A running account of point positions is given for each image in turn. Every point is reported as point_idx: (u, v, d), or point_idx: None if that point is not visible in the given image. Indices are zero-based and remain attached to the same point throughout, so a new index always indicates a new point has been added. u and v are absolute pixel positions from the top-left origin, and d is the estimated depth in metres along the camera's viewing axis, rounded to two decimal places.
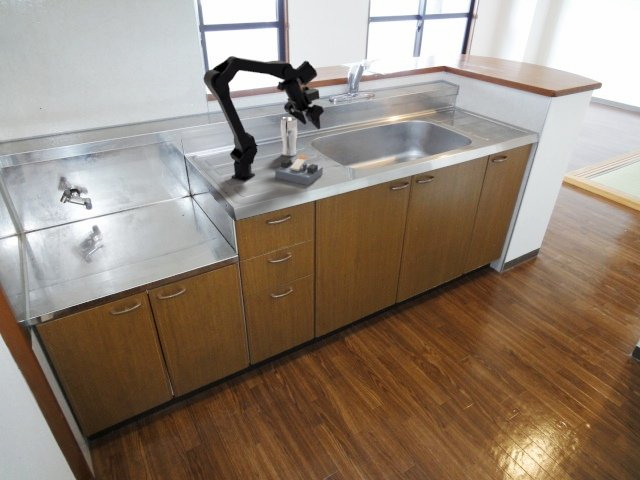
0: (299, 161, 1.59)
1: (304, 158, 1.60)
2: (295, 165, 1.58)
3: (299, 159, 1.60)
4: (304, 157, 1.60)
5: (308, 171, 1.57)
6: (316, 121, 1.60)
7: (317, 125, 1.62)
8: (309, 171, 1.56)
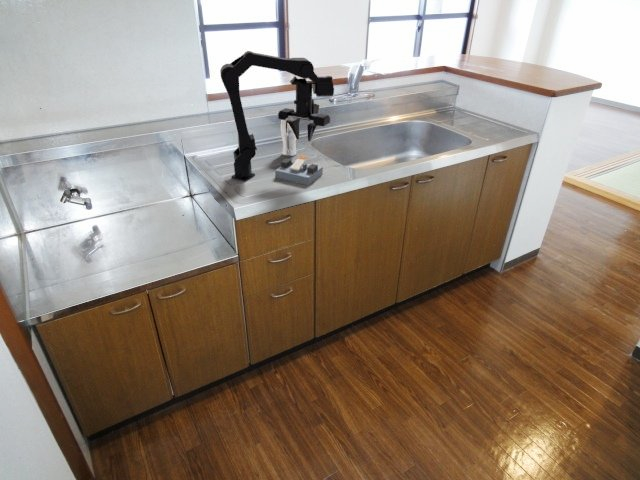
0: (299, 161, 1.59)
1: (304, 158, 1.60)
2: (295, 165, 1.58)
3: (299, 159, 1.60)
4: (304, 157, 1.60)
5: (308, 171, 1.57)
6: (312, 130, 1.54)
7: (311, 135, 1.55)
8: (309, 171, 1.56)
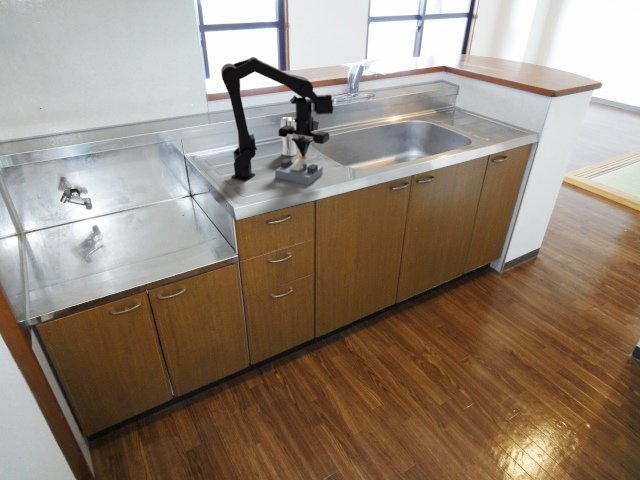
0: (299, 161, 1.59)
1: (304, 158, 1.60)
2: (295, 165, 1.58)
3: (299, 159, 1.60)
4: (304, 157, 1.60)
5: (308, 171, 1.57)
6: (306, 146, 1.58)
7: (305, 151, 1.59)
8: (309, 171, 1.56)
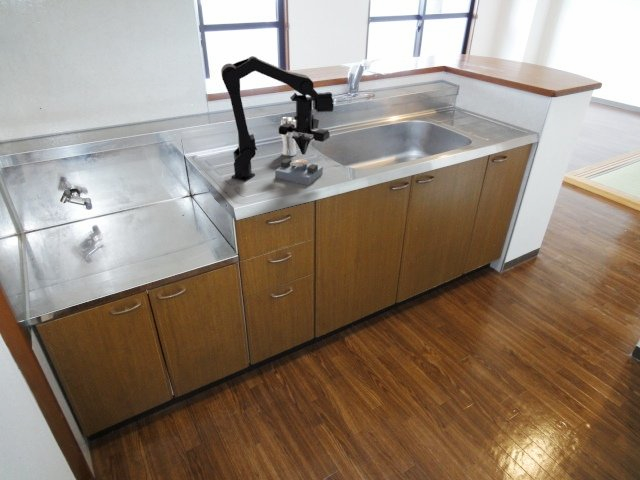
0: (299, 161, 1.59)
1: (304, 161, 1.61)
2: (295, 162, 1.57)
3: (299, 161, 1.60)
4: (304, 160, 1.61)
5: (308, 171, 1.57)
6: (306, 144, 1.58)
7: (305, 149, 1.59)
8: (309, 171, 1.56)
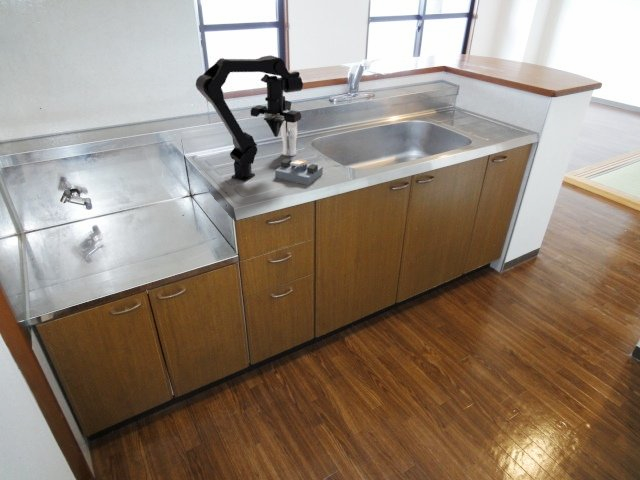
0: (299, 161, 1.59)
1: (304, 161, 1.61)
2: (295, 162, 1.57)
3: (299, 161, 1.60)
4: (304, 160, 1.61)
5: (308, 171, 1.57)
6: (278, 126, 1.57)
7: (277, 131, 1.58)
8: (309, 171, 1.56)
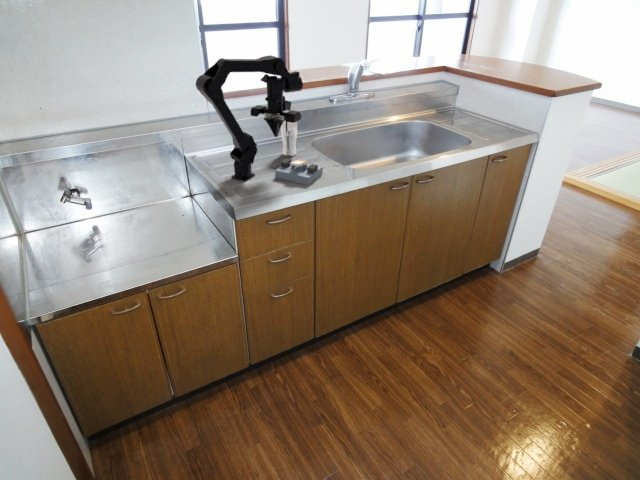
0: (299, 161, 1.59)
1: (304, 161, 1.61)
2: (295, 162, 1.57)
3: (299, 161, 1.60)
4: (304, 160, 1.61)
5: (308, 171, 1.57)
6: (278, 126, 1.57)
7: (277, 131, 1.58)
8: (309, 171, 1.56)
